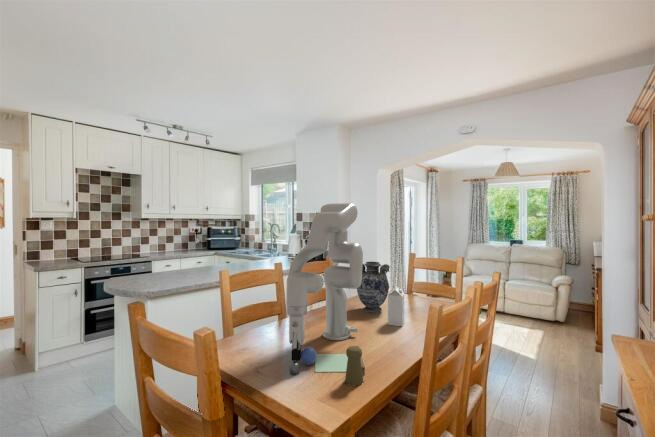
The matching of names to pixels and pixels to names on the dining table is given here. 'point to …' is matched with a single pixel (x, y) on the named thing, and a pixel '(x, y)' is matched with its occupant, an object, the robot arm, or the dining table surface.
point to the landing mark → (331, 363)
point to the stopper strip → (362, 366)
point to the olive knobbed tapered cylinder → (354, 366)
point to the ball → (308, 355)
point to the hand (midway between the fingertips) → (296, 359)
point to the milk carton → (396, 307)
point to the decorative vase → (373, 286)
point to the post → (294, 368)
